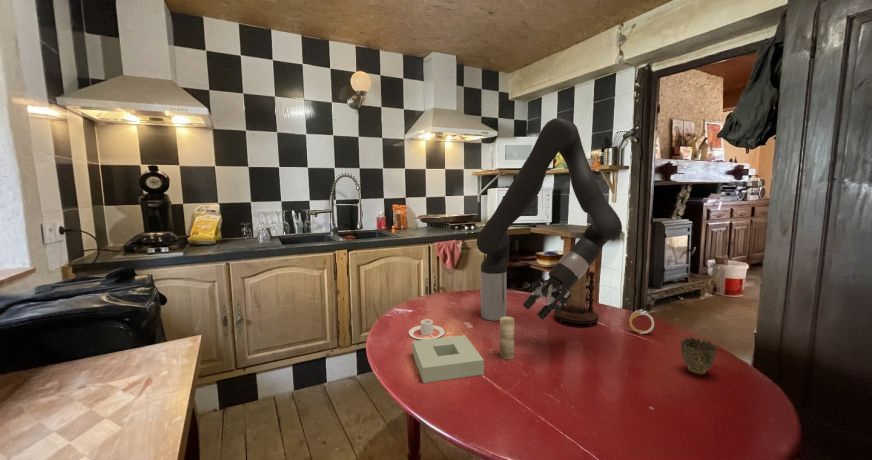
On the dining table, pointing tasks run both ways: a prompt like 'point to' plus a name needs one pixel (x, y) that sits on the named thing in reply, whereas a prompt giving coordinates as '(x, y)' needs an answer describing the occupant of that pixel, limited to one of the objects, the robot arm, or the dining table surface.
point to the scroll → (579, 303)
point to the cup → (698, 354)
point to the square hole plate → (447, 358)
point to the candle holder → (426, 329)
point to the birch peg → (507, 337)
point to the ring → (642, 312)
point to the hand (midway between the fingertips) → (532, 312)
